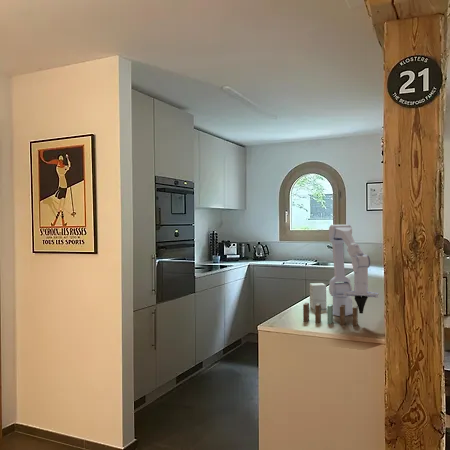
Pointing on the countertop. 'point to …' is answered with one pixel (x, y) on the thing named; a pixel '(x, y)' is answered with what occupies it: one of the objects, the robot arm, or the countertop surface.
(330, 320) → the domino
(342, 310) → the domino
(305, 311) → the domino
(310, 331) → the countertop surface
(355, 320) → the brown flat rectangular block
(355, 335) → the countertop surface
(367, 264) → the robot arm
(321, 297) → the supplement box
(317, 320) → the domino
